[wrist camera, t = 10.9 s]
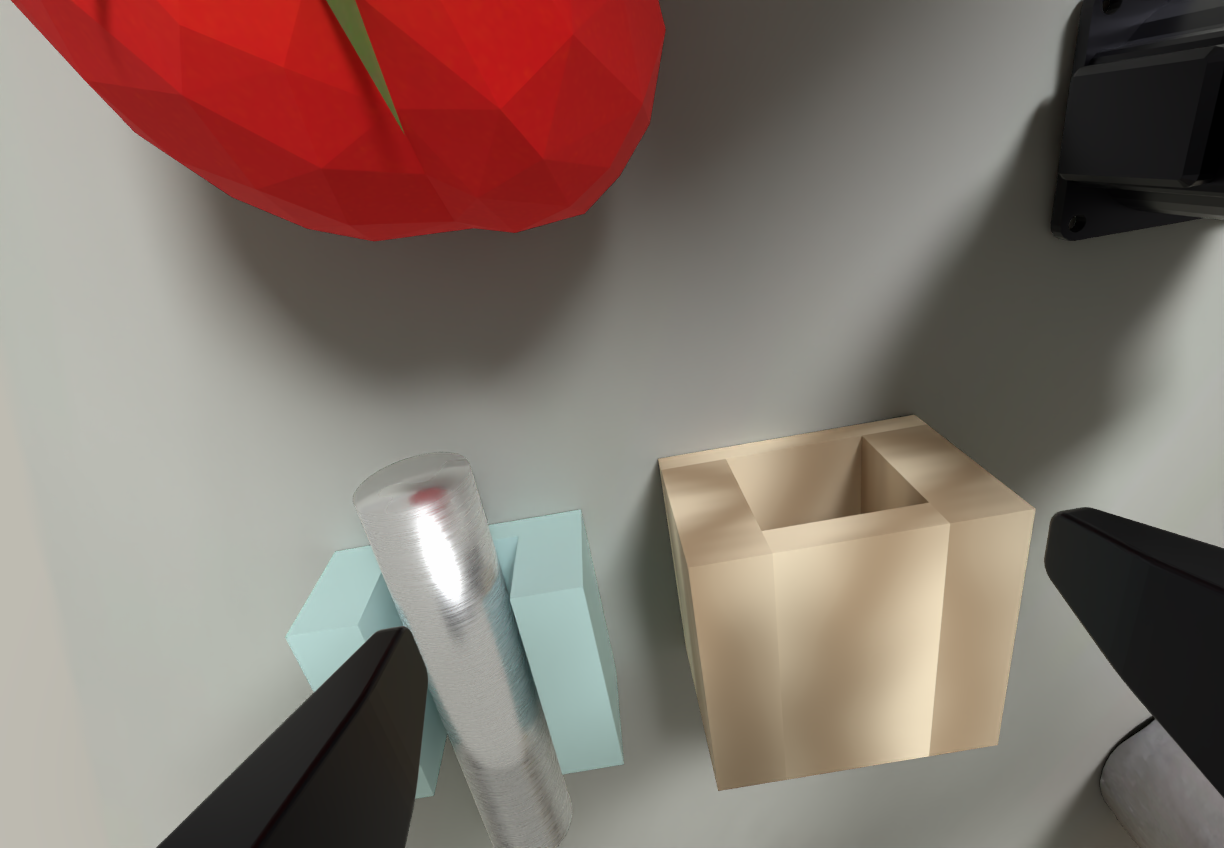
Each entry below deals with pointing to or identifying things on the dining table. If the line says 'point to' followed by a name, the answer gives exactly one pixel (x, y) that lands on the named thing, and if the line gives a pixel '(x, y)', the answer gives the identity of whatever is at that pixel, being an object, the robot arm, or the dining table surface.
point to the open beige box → (845, 597)
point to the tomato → (378, 101)
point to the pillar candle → (1162, 793)
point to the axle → (467, 642)
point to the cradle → (548, 624)
